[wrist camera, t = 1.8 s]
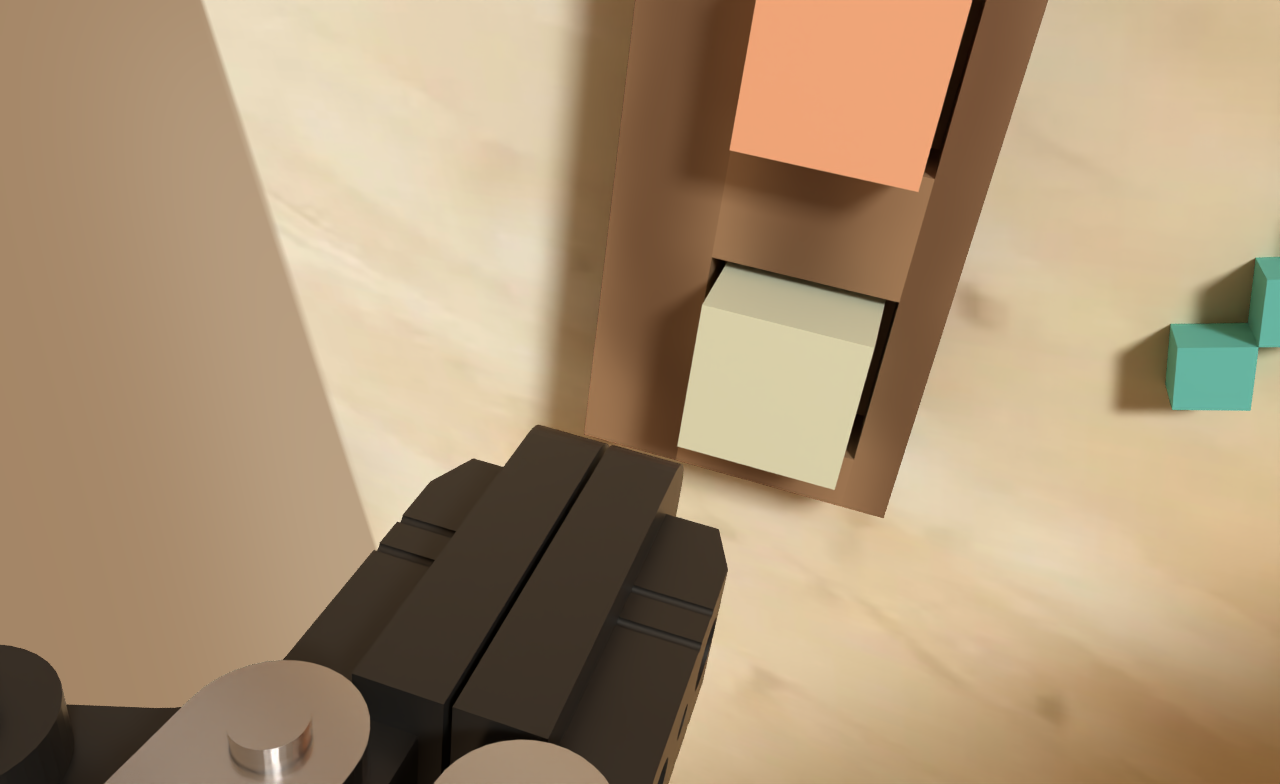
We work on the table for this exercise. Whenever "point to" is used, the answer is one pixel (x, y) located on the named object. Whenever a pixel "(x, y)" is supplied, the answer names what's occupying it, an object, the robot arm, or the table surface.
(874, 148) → the terracotta button
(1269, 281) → the alien figure
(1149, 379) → the table surface
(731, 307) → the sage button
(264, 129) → the table surface
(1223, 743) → the table surface
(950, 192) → the button panel
